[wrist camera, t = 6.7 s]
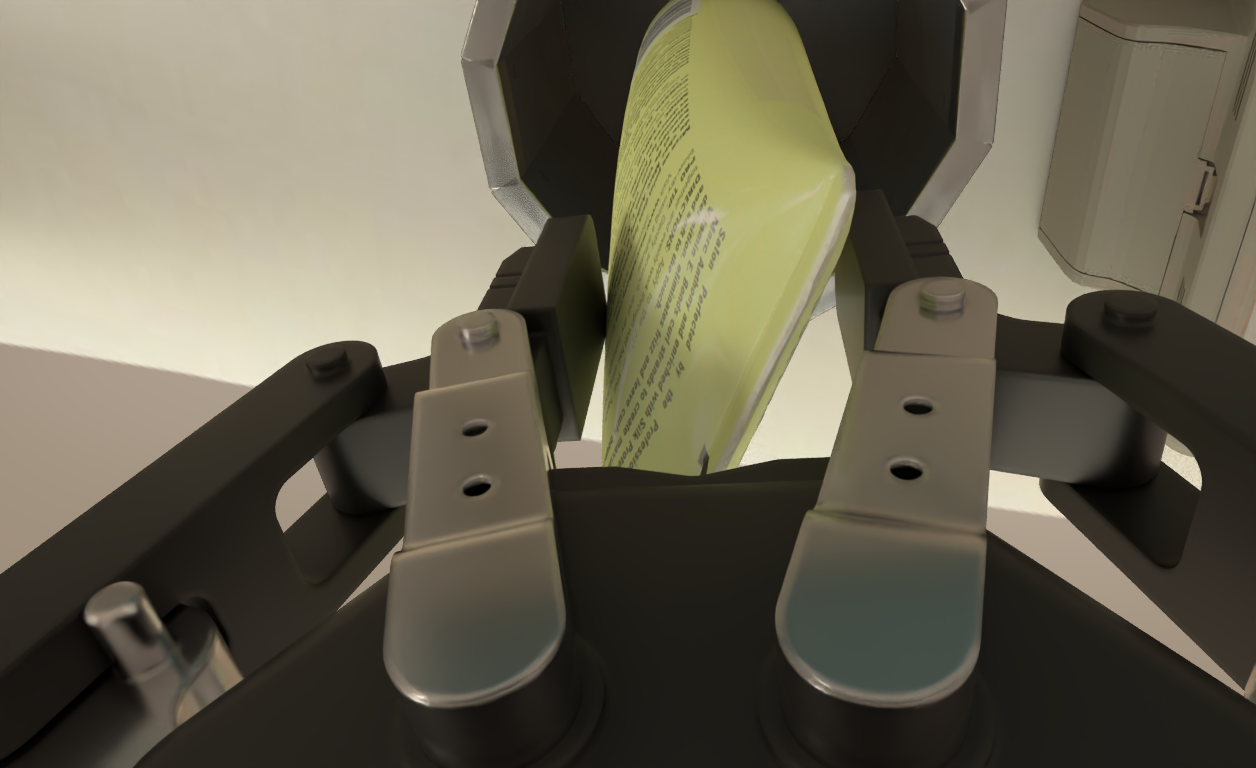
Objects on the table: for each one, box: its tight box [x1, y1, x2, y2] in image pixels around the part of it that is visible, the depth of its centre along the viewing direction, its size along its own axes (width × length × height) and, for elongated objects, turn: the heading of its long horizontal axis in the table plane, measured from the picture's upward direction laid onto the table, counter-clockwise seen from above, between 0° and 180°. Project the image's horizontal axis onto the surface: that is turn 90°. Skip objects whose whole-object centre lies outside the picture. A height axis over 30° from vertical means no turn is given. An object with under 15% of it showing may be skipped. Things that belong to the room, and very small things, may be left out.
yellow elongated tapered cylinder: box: [602, 0, 856, 476], centre depth 18 cm, size 6×5×20 cm
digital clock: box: [1038, 0, 1256, 457], centre depth 27 cm, size 16×9×11 cm, turn 173°
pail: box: [461, 0, 1007, 320], centre depth 27 cm, size 14×14×10 cm
